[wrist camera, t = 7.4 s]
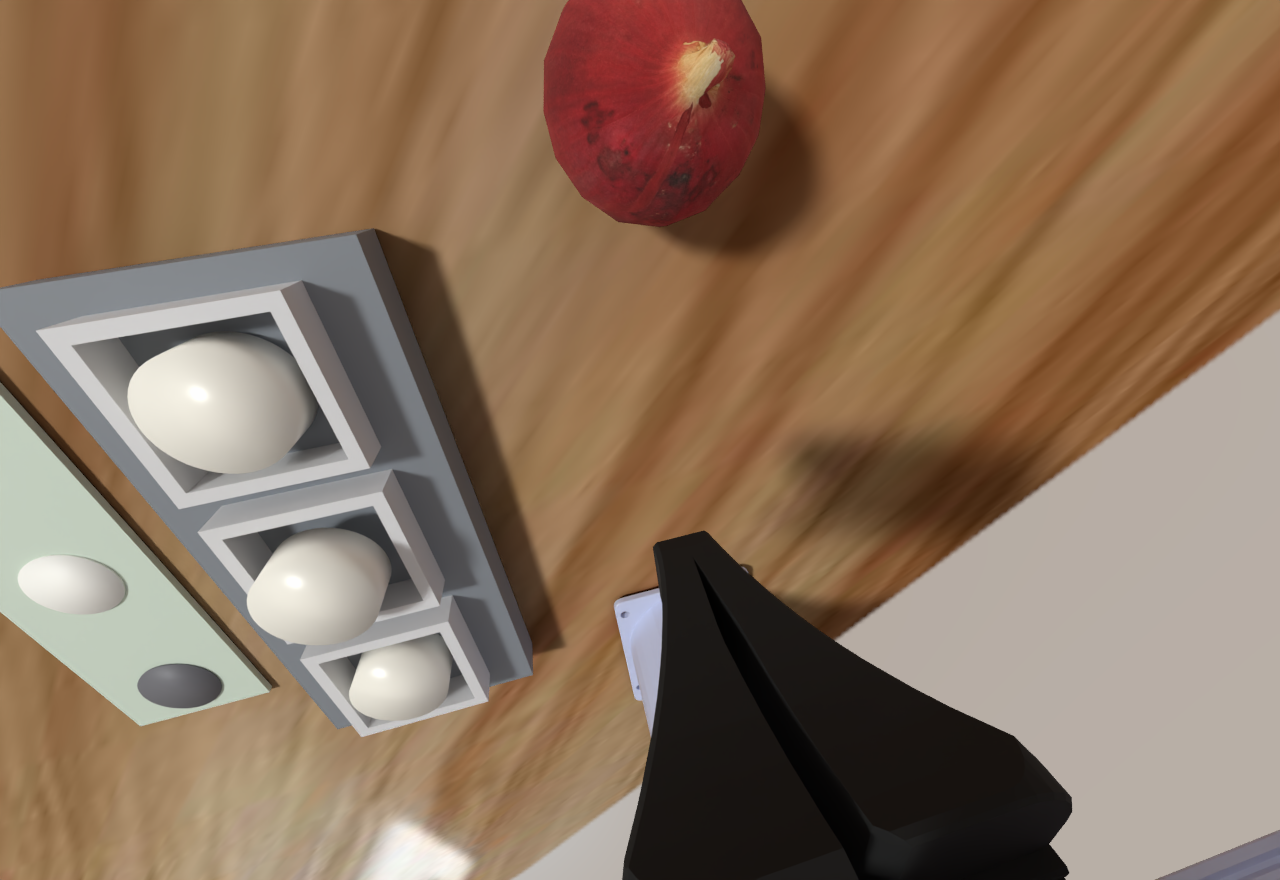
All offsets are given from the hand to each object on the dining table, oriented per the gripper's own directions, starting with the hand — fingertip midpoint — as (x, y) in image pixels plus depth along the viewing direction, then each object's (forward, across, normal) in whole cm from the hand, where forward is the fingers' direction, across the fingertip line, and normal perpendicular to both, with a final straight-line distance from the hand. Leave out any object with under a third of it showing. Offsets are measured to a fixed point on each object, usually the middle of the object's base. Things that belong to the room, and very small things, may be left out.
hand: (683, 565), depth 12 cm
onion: (+11, -2, -10) cm, 15 cm away
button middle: (+7, +12, +3) cm, 14 cm away
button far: (+8, +12, +10) cm, 18 cm away
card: (+10, +23, +3) cm, 25 cm away
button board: (+10, +12, +3) cm, 16 cm away
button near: (+8, +12, -4) cm, 15 cm away
